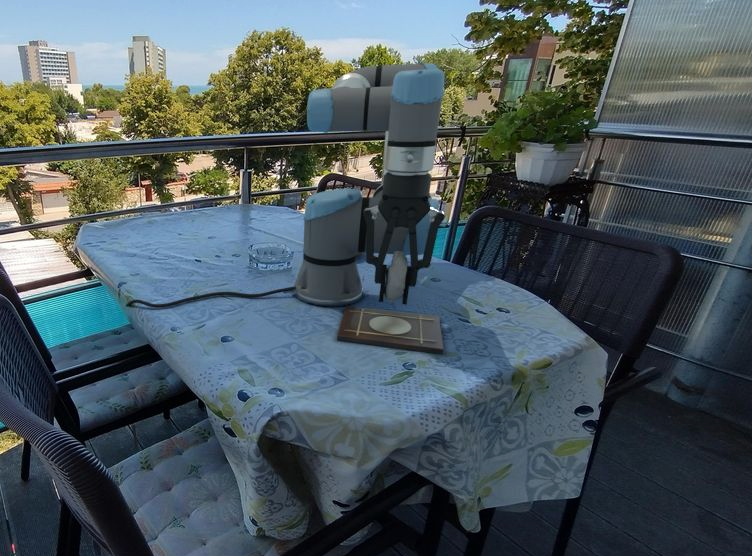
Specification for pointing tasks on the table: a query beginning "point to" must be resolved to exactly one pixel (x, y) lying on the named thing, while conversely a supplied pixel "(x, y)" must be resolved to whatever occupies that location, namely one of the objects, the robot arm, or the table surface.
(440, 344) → the board
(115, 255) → the table surface
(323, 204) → the robot arm
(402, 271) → the fossil
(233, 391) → the table surface
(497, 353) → the table surface
